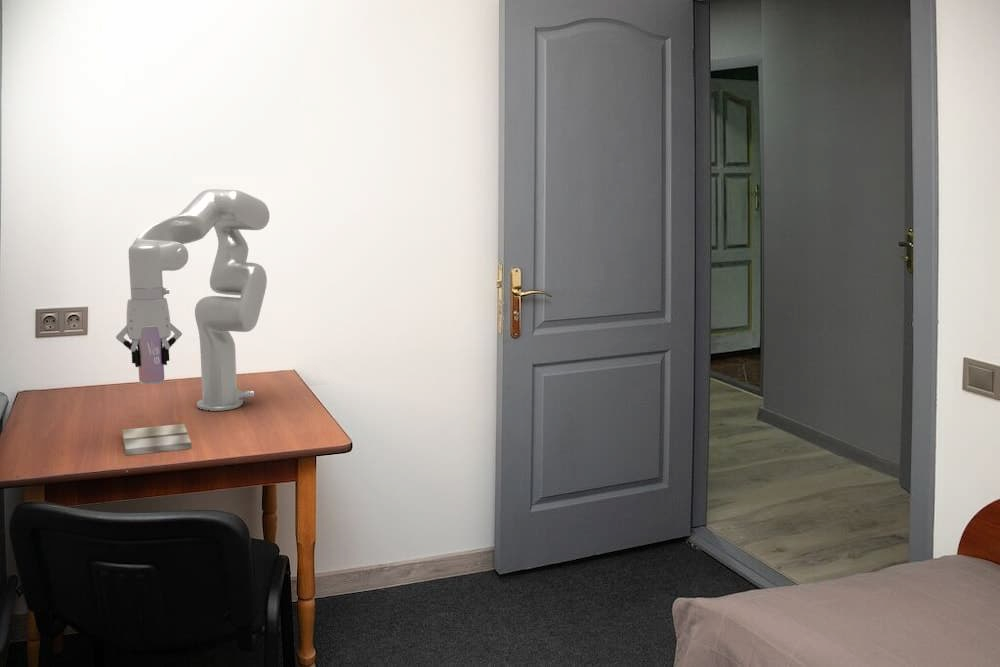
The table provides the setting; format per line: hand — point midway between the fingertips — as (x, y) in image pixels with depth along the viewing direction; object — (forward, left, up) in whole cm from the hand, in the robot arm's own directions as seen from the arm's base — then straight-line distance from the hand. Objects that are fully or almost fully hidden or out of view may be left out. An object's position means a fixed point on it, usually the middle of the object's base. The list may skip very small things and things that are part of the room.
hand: (150, 364), depth 235 cm
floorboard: (0, +10, -19) cm, 21 cm away
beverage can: (0, 0, -5) cm, 5 cm away
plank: (0, 0, -19) cm, 19 cm away
